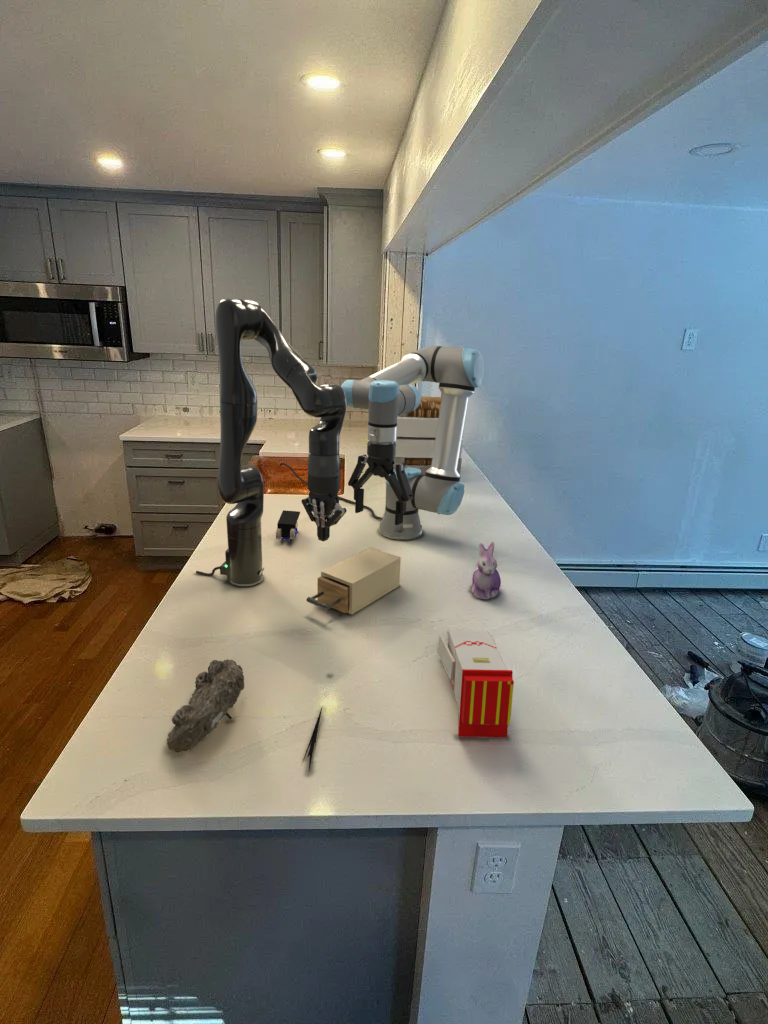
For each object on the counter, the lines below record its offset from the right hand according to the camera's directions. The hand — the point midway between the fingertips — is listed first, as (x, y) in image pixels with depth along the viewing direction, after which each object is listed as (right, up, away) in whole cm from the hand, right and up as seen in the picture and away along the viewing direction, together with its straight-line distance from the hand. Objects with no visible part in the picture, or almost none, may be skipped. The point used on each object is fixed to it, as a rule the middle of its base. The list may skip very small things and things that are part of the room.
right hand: (378, 517), depth 155 cm
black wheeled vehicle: (-31, -7, +37) cm, 49 cm away
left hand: (-13, -5, -17) cm, 22 cm away
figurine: (+30, -21, +5) cm, 37 cm away
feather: (-11, -38, -47) cm, 61 cm away
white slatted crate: (+19, +20, +120) cm, 123 cm away
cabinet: (-5, -21, +2) cm, 22 cm away
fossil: (-31, -38, -47) cm, 68 cm away
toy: (+19, -36, -37) cm, 55 cm away
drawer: (-8, -21, -3) cm, 23 cm away
